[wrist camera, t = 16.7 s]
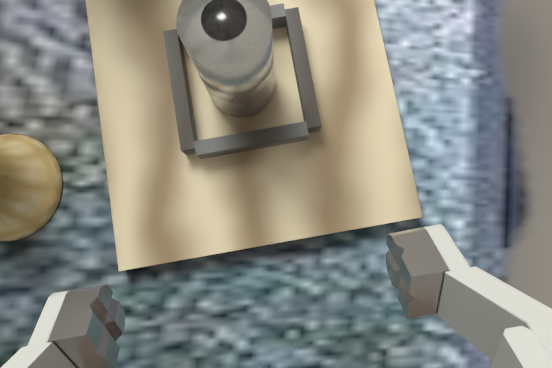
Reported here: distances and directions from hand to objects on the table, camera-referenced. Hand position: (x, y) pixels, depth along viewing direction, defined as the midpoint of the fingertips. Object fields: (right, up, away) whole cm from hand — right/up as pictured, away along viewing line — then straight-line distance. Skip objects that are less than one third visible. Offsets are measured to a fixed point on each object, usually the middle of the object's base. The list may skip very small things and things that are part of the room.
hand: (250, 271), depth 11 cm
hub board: (-2, +10, +19) cm, 22 cm away
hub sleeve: (-2, +10, +18) cm, 21 cm away
